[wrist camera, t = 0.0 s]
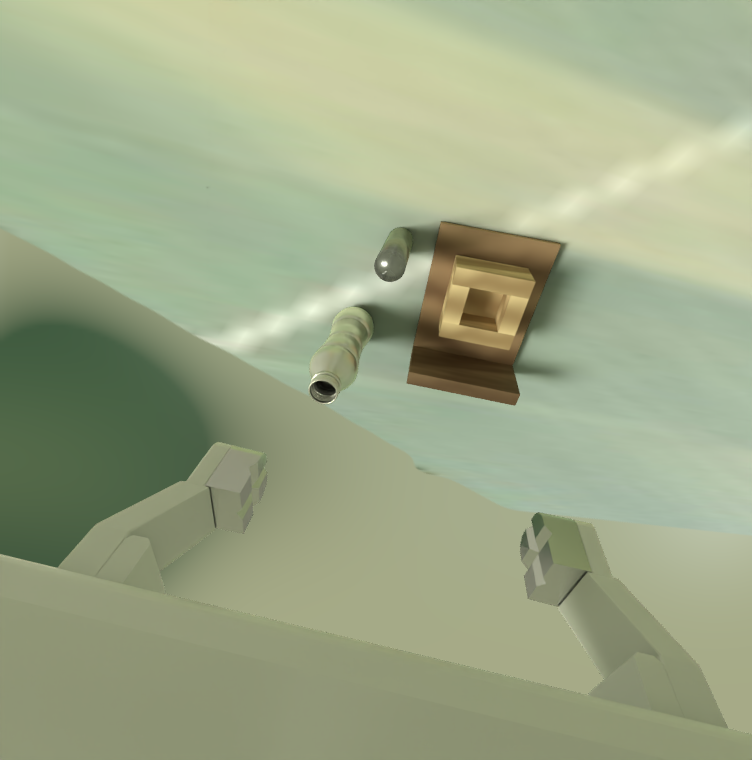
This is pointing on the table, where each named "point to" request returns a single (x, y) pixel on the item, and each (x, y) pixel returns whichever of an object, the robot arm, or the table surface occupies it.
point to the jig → (464, 359)
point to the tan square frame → (485, 302)
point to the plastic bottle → (339, 355)
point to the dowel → (394, 255)
